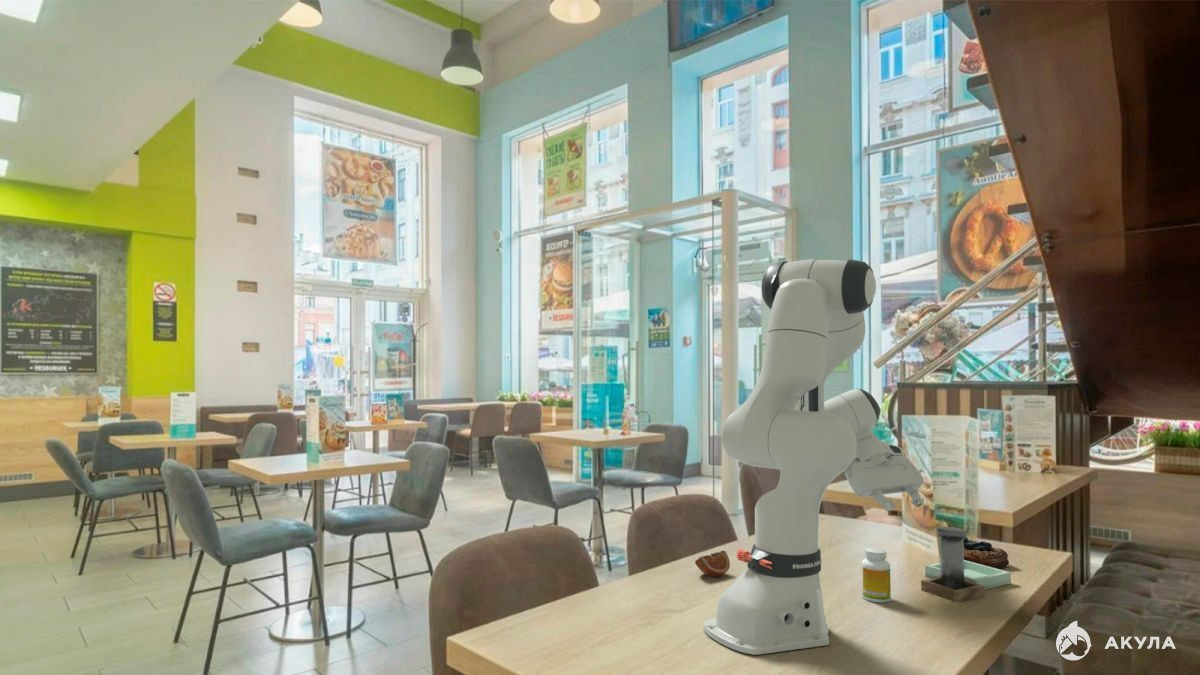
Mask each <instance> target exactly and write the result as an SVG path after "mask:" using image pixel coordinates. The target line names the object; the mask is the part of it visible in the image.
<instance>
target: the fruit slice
mask: <svg viewBox="0 0 1200 675" xmlns="http://www.w3.org/2000/svg"><path fill="white" fill-rule="evenodd" d="M729 558H730V557H729V556H728V553H727V552H726V550H721V551H718V552H714V553H710V555H709V554H708V555H702V556H699V558H697V559H696V560H695V562H694V563H695V565H696V567H697V568H698V569H699V570H700V571H701V572H702V573H703V574H705V575H707V576H710V577H715V578H716V577H721V576H723V575H725V574H726V573H727V572H728V571H729V569H730V566H731V562H730V559H729Z"/></svg>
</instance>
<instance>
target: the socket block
mask: <svg viewBox="0 0 1200 675" xmlns="http://www.w3.org/2000/svg"><path fill="white" fill-rule="evenodd" d="M920 586H921V588H920V590H921V591H923V592H926V593H929V594H933V595H934V596H938V597H941V598H945V599H947V600H951V601H953V602H957V603H962V602H966V601H969V600H970V601H971V600H973V599H977V598H981V597H984V596H985V590H984V586H983V585H980V584H976V583H973V582H969V581H966V580H964V588H963V589H959V590H956V589H952V588H949V587H946V586H943V585H941V576H939V577H935V578H926V579H922V580H921V581H920Z"/></svg>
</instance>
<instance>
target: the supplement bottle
mask: <svg viewBox="0 0 1200 675" xmlns="http://www.w3.org/2000/svg"><path fill="white" fill-rule="evenodd" d="M864 555H865V558H864V559H863V560H862V561H861V595H862V598H863V599H865V600H866V601H869V602H872V603H880V604H881V603H889V602H890V601H891V565H890V563H889V562H888V561H887V560H886V559H887V551H886V550H885V549H883V548H879V547H878V548H877V547H867V548H865V549H864Z"/></svg>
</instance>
